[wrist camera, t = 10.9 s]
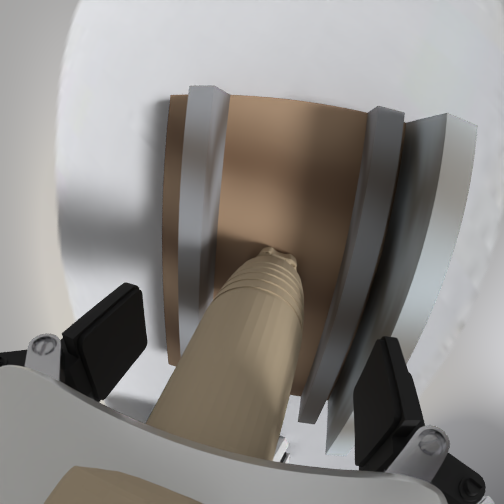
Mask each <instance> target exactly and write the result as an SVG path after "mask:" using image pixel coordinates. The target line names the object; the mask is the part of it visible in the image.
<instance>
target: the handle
mask: <svg viewBox="0 0 504 504" xmlns="http://www.w3.org/2000/svg"><path fill="white" fill-rule="evenodd" d="M296 267H297V261H296V259H295V257H294V256H293V255H292V254H283V253H280V252H277V251H276V250H274V248H273V247H266V248H264V249H262V250H261V252H260V253H259V255H258V256H257V257H255V258H252V259H250V260H248V261H246V262H245V263H244V264H243V265H242V266H241V267H239V268H238V269H237V270H236V271H235V272H234V274H233V275H232V276H231V277H230V278H229V279H228V280H227V282H226V283H225V284H224V285H223V287H222V288H221V289H220V291H219V292H218V293H217V295H216V296H215V298H214V299H213V301H212V302H211V304H210V305H209V306H208V308H207V310H206V311H205V313H204V315H203V317H202V319H201V321H200V323H199V325H198V326H197V328H196V330H195V332H194V334H193V336H192V338H191V340H190V341H189V343H188V345H187V347H186V349H185V351H184V353H183V355H182V357H181V358H180V360H179V362H178V364H177V366H176V368H175V370H174V372H173V374H172V375H171V377H170V379H169V381H168V383H167V385H166V386H165V388H164V390H163V392H162V394H161V396H160V398H159V399H158V401H157V403H156V405H155V407H154V409H153V411H152V413H151V414H150V416H149V418H148V420H147V422H146V424H147V425H150V426H152V427H155V428H157V429H160V430H162V431H165V432H168V433H170V434H173V435H176V436H179V437H182V438H185V439H188V440H191V441H194V442H197V443H200V444H204V445H207V446H210V447H214V448H218V449H221V450H225V451H229V452H233V453H237V454H241V455H245V456H250V457H255V458H259V459H264V460H270V461H273V458H274V454H275V451H276V447H277V443H278V440H279V436H280V432H281V428H282V424H283V420H284V416H285V412H286V408H287V404H288V400H289V396H290V392H291V388H292V384H293V379H294V375H295V371H296V366H297V362H298V357H299V353H300V348H301V343H302V336H303V324H304V294H303V288H302V283H301V279H300V277H299V274H298V273H297V270H296ZM44 504H203V503H201V502H199V501H196V500H194V499H192V498H190V497H187V496H184V495H182V494H179V493H177V492H174V491H172V490H169V489H167V488H165V487H162V486H160V485H157V484H154V483H152V482H149V481H146V480H144V479H141V478H139V477H135V476H132V475H129V474H126V473H122V472H119V471H112V470H105V469H99V468H90V467H81V466H74V467H72V468H71V469H70V470H69V471H68V472H67V473H66V474H65V475H64V476H63V477H62V479H61V480H60V481H59V483H58V484H57V485H56V487H55V488H54V489H53V491H52V492H51V494H50V495H49V496H48V498H47V499H46V501H45V502H44Z"/></svg>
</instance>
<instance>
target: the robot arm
mask: <svg viewBox="0 0 504 504" xmlns="http://www.w3.org/2000/svg"><path fill="white" fill-rule="evenodd" d="M62 335H63V338H62V339H61V340H60V339H59V338H58V337H57V336H56V335H53V334H42V335H39V336H37V337H35V338H34V339H32V341H31V342H30V343H29V346H28V350H21V351H12V352H3V353H0V504H44V502H45V501H46V499H47V498H48V496H49V495H50V494H51V492H52V491H53V489H54V488H55V487H56V485H57V484H58V483H59V481H60V480H61V479H62V477H63V476H64V475H65V474H66V473H67V472H68V471H69V470H70V469H71V468H72V467H74V466H81V467H90V468H99V469H105V470H112V471H119V472H122V473H126V474H129V475H132V476H135V477H139V478H141V479H144V480H146V481H149V482H152V483H154V484H157V485H160V486H162V487H165V488H167V489H169V490H172V491H174V492H177V493H179V494H182V495H184V496H187V497H190V498H192V499H194V500H196V501H199V502H201V503H203V504H495V503H494V502H493V500H492V499H491V498H490V496H487V497H485V496H484V493H485V482H484V480H483V478H482V477H481V476H480V475H479V474H478V473H476V472H475V471H473V470H472V469H471V468H469V467H468V466H466V465H465V464H463V463H462V462H461V461H459V460H458V459H456V458H455V457H454V456H452V455H451V454H449V453H448V451H449V448H450V441H449V438H448V436H447V435H446V433H445V432H444V431H443V430H442V429H440V428H438V427H436V426H431V425H428V426H425V424H424V420H423V416H422V411H421V408H420V404H419V400H418V396H417V393H416V389H415V385H414V382H413V379H412V376H411V374H410V373H409V372H408V369H407V366H406V363H405V359H404V356H403V353H402V350H401V347H400V344H399V341H398V339H397V338H396V337H388V336H383V337H382V338H381V339H377V340H376V342H375V344H374V347H373V349H372V351H371V354H370V356H369V358H368V360H367V362H366V365H365V367H364V369H363V371H362V373H361V375H360V377H359V379H358V381H357V383H356V385H355V388H354V391H353V407H354V431H355V465H356V466H359V471H358V470H340V469H328V468H319V467H310V466H302V465H294V464H288V463H281V462H275V461H270V460H264V459H259V458H255V457H250V456H245V455H241V454H237V453H233V452H229V451H225V450H221V449H218V448H214V447H210V446H207V445H204V444H200V443H197V442H194V441H191V440H188V439H185V438H182V437H179V436H176V435H173V434H170V433H168V432H165V431H162V430H160V429H157V428H155V427H152V426H150V425H147V424H145V423H142V422H140V421H137V420H135V419H133V418H131V417H128V416H126V415H124V414H122V413H120V412H117V411H115V410H113V409H111V408H109V407H107V406H105V405H103V404H101V403H99V402H100V400H104V399H105V398H106V397H107V396H108V395H109V393H110V392H111V391H112V390H113V388H114V387H115V386H116V385H117V383H118V382H119V381H120V380H121V378H122V377H123V376H124V375H125V373H126V372H127V371H128V370H129V368H130V367H131V366H132V365H133V363H134V362H135V361H136V360H137V358H138V357H139V356H140V355H141V353H142V352H143V351H144V350H145V348H146V346H147V334H146V326H145V317H144V308H143V297H142V291H141V290H139V287H138V286H137V285H133V284H130V283H123V284H122V285H121V286H119V287H118V288H117V289H116V290H114V291H113V292H112V293H110V294H109V295H108V296H107V297H105V298H104V299H103V300H102V301H100V302H99V303H98V304H97V305H96V306H94V307H93V308H92V309H91V310H89V311H88V312H87V313H86V314H84V315H83V316H82V317H81V318H80V319H78V320H77V321H76V322H75V323H74V324H72V325H71V326H70V327H69V328H68V329H67V330H65V331H64V332H63V333H62Z"/></svg>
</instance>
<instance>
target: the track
mask: <svg viewBox="0 0 504 504" xmlns="http://www.w3.org/2000/svg"><path fill="white" fill-rule="evenodd" d="M404 114H405V113H403V112H400V111H396V110H392V109H389V108H385V107H381V106H377V107H376V108H374V109H373V110H371V111H370V112H368V113H366V112H361V111H356V110H352V109H347V108H341V107H336V106H330V105H325V104H318V103H312V102H305V101H297V100H289V99H280V98H270V97H258V96H242V95H230V94H228V93H226V92H225V91H223V90H221V89H219V88H218V87H216V86H189V94H188V95H171V97H170V105H169V114H168V125H167V136H166V148H165V163H164V182H163V213H162V263H163V294H164V313H165V328H166V341H167V353H168V363H169V364H170V365H173V366H177V364H178V362H179V360H180V358H181V357H182V355H183V353H184V351H185V349H186V347H187V345H188V343H189V341H190V340H191V338H192V336H193V334H194V332H195V330H196V328H197V326H198V325H199V323H200V321H201V319H202V317H203V315H204V313H205V311H206V310H207V308H208V306H209V305H210V304H211V302H212V301H213V299H214V298H215V296H216V295H217V293H218V292H219V291H220V289H221V288H222V287H223V285H224V284H225V283H226V282H227V280H228V279H229V278H230V277H231V276H232V275H233V274H234V272H235V271H236V270H237V269H238V268H239V267H241V266H242V265H243V264H244V263H245V262H246V261H248V260H250V259H252V258H255V257H257V256H258V255H259V253H260V252H261V250H262V249H264V248H266V247H273V248H274V250H276V251H277V252H280V253H283V254H292V255H293V256H294V257H295V259H296V261H297V267H296V270H297V273H298V274H299V277H300V279H301V283H302V288H303V294H304V324H303V336H302V343H301V348H300V353H299V357H298V362H297V366H296V371H295V375H294V379H293V384H292V388H291V392H290V395H295V396H301V402H300V410H299V417H298V422H302V423H309V424H315V423H316V421H317V419H318V417H319V415H320V413H321V411H322V408H323V406H324V404H325V402H326V400H328V420H327V440H326V455H336V456H347V454H348V453H349V452H350V450H351V449H352V448H353V447H354V445H355V431H354V407H353V391H354V388H355V385H356V383H357V381H358V379H359V377H360V375H361V373H362V371H363V369H364V367H365V365H366V362H367V360H368V358H369V356H370V354H371V351H372V349H373V347H374V344H375V342H376V340H377V339H381V338H382V337H383V336H388V337H396V338H397V339H398V341H399V344H400V347H401V350H402V353H403V356H404V359H405V363H406V364H407V362H408V360H409V358H410V356H411V354H412V352H413V350H414V348H415V346H416V344H417V342H418V340H419V338H420V336H421V334H422V332H423V330H424V327H425V325H426V323H427V321H428V319H429V316H430V314H431V312H432V309H433V307H434V304H435V302H436V299H437V297H438V294H439V292H440V289H441V286H442V284H443V281H444V278H445V275H446V272H447V270H448V267H449V264H450V261H451V257H452V254H453V251H454V248H455V244H456V241H457V237H458V234H459V230H460V226H461V222H462V218H463V214H464V210H465V206H466V201H467V196H468V191H469V186H470V181H471V175H472V169H473V162H474V155H475V146H476V137H477V125H475V124H473V123H471V122H468V121H466V120H464V119H461V118H459V117H456V116H454V115H451V114H449V113H445V114H441V115H436V116H432V117H428V118H424V119H420V120H416V121H412V122H408V123H405V122H404Z"/></svg>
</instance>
